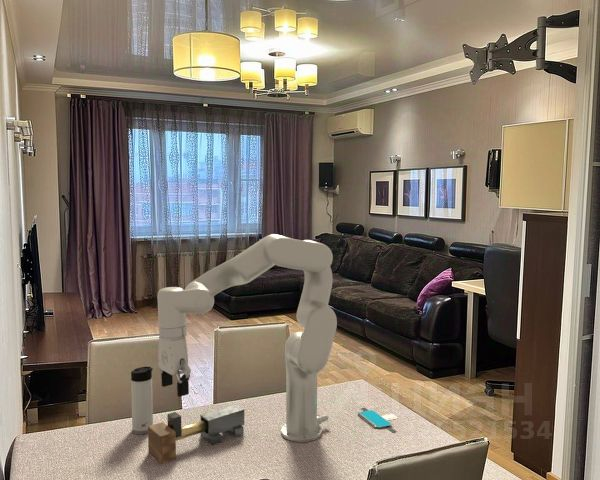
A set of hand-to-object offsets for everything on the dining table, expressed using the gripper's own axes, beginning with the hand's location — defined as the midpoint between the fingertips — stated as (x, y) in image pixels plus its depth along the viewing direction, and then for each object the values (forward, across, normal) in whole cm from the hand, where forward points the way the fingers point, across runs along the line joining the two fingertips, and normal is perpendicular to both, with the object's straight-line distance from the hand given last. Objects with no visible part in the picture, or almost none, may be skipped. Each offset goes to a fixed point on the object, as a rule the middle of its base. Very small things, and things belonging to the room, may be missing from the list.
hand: (175, 390), depth 152 cm
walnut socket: (+18, 0, -4) cm, 19 cm away
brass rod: (+15, 0, +3) cm, 15 cm away
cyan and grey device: (+20, +22, +62) cm, 69 cm away
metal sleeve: (+19, 0, +15) cm, 24 cm away
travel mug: (+18, -19, -2) cm, 27 cm away
